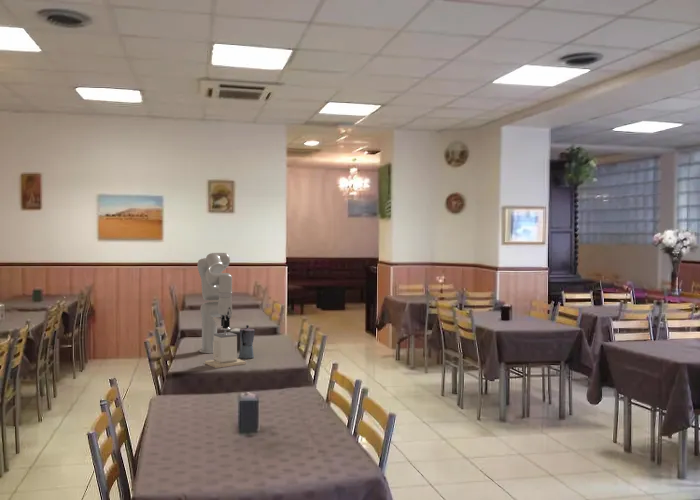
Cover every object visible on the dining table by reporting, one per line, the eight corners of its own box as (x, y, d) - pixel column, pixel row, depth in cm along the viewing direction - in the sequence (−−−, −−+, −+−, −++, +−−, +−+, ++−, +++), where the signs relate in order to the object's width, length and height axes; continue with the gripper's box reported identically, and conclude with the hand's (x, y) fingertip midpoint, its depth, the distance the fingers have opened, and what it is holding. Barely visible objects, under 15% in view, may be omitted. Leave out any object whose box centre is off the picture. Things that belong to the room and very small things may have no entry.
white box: (204, 363, 385) (204, 333, 384) (234, 359, 396) (234, 330, 396) (215, 368, 373) (215, 337, 372) (245, 364, 384) (245, 334, 384)
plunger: (216, 358, 385) (216, 319, 384) (228, 357, 390) (228, 318, 389) (222, 360, 379) (222, 320, 378) (234, 359, 384) (234, 319, 383)
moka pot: (257, 355, 409) (257, 323, 408) (251, 360, 394) (251, 327, 393) (242, 355, 410) (242, 323, 409) (235, 360, 394) (235, 327, 394)
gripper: (213, 294, 388) (213, 325, 388) (225, 296, 374) (225, 329, 375) (225, 293, 392) (225, 324, 393) (237, 296, 379) (237, 327, 379)
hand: (225, 326), depth 384 cm, fingers closed on plunger, 3 cm apart
